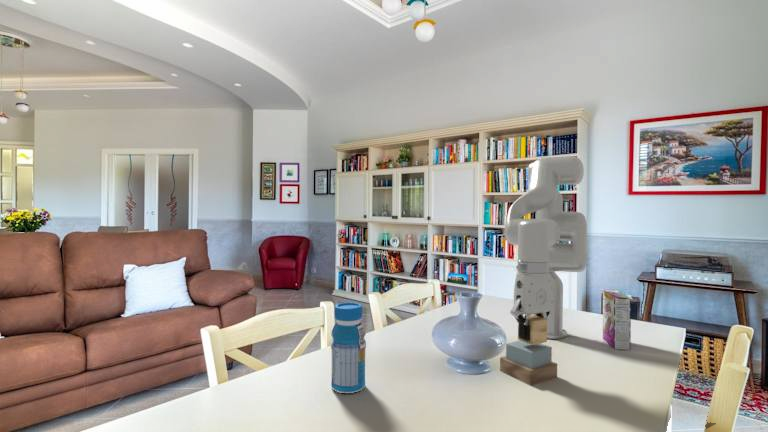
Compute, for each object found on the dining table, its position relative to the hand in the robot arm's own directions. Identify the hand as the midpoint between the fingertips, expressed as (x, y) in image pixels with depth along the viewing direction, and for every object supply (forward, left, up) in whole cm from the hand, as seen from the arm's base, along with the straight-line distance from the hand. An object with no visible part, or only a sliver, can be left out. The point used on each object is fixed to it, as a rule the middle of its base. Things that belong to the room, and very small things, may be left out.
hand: (532, 336), depth 105 cm
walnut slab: (-1, 0, -11) cm, 11 cm away
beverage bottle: (-16, -45, -10) cm, 49 cm away
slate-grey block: (-1, 0, -7) cm, 7 cm away
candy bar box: (-4, +43, -10) cm, 44 cm away
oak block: (0, 0, -1) cm, 1 cm away
